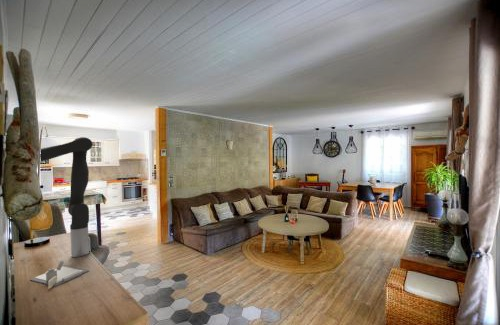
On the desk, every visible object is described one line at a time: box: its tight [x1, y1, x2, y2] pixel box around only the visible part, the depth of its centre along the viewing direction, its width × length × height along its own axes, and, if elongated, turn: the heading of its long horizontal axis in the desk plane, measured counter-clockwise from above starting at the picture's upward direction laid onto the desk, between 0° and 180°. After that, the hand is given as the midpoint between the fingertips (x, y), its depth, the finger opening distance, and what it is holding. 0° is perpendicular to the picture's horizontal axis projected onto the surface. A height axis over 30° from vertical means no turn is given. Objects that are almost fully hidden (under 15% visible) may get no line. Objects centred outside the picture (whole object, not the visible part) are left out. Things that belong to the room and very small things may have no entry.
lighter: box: [45, 260, 65, 281], centre depth 118 cm, size 7×2×8 cm, turn 130°
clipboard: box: [29, 265, 90, 288], centre depth 123 cm, size 16×20×2 cm
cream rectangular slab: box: [47, 276, 57, 290], centre depth 113 cm, size 5×1×4 cm, turn 9°
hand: (22, 219), depth 130 cm, fingers open, 8 cm apart
